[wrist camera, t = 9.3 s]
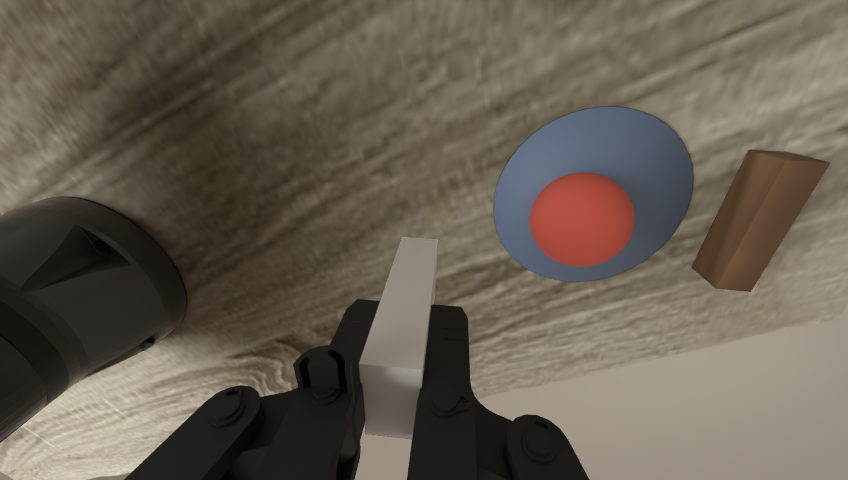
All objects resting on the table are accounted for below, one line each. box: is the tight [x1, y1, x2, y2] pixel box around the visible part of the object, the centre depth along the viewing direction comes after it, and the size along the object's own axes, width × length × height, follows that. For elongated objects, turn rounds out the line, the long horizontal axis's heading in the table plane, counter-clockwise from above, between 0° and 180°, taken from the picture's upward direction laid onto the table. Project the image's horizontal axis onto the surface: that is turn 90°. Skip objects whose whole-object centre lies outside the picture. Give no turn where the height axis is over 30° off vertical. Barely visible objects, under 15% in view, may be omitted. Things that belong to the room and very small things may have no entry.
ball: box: [530, 172, 635, 267], centre depth 19 cm, size 6×6×6 cm
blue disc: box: [494, 107, 693, 282], centre depth 21 cm, size 12×12×1 cm
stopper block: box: [692, 150, 830, 292], centre depth 19 cm, size 2×8×2 cm, turn 178°
